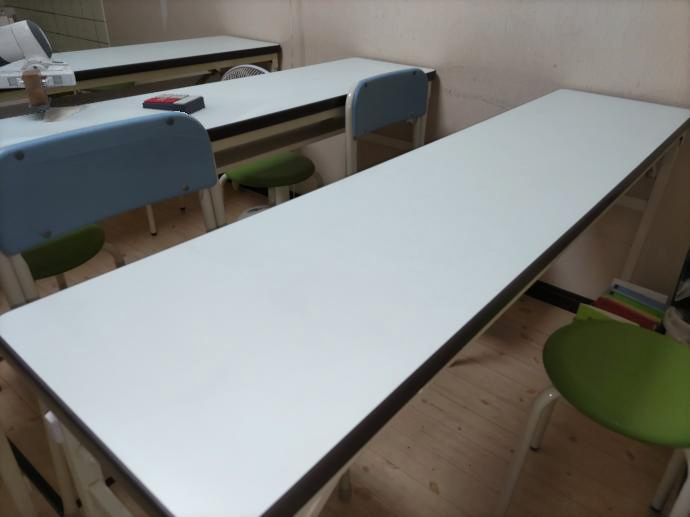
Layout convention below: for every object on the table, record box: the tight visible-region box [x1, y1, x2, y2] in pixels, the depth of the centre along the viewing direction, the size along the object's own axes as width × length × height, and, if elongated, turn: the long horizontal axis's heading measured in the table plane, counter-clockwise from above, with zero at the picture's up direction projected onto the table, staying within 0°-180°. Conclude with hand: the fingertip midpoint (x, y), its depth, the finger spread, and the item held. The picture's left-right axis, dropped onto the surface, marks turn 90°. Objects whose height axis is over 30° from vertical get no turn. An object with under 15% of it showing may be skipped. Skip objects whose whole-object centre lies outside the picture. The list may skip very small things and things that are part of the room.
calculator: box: [142, 93, 206, 115], centre depth 157 cm, size 11×4×15 cm
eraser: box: [22, 70, 53, 113], centre depth 142 cm, size 5×10×9 cm, turn 23°
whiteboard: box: [42, 105, 90, 124], centre depth 149 cm, size 20×16×1 cm
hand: (34, 84), depth 140 cm, fingers closed on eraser, 4 cm apart
